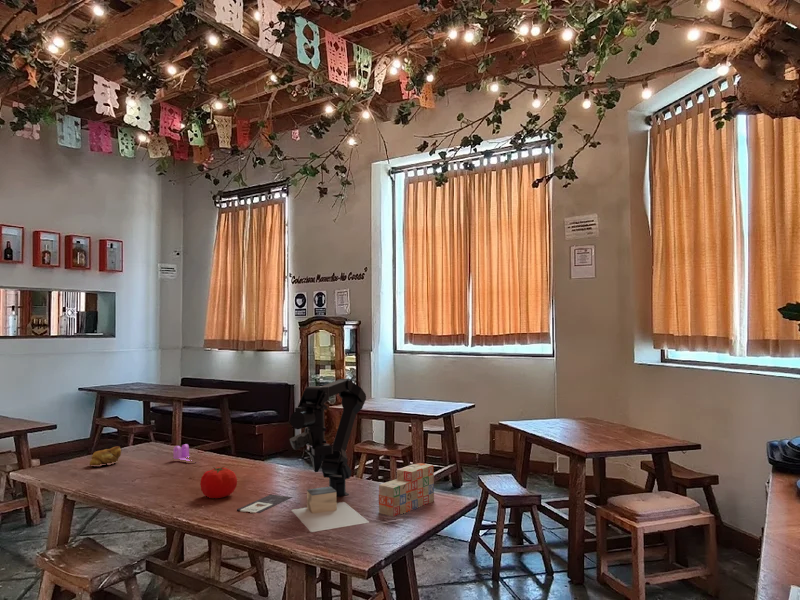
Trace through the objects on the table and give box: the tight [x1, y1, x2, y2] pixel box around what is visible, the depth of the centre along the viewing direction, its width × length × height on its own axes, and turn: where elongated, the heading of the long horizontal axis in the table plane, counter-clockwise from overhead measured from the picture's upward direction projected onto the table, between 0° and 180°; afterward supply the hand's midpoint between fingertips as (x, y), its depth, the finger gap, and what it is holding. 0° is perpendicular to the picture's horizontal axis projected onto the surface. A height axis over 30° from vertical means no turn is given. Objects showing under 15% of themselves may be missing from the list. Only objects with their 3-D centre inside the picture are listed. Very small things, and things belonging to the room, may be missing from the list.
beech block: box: [306, 486, 338, 514], centre depth 185 cm, size 6×8×6 cm
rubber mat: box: [291, 501, 370, 533], centre depth 179 cm, size 23×18×1 cm
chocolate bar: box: [236, 493, 293, 514], centre depth 193 cm, size 9×1×18 cm
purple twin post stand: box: [172, 443, 192, 461], centre depth 260 cm, size 13×6×7 cm, turn 56°
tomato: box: [199, 466, 238, 499], centre depth 203 cm, size 11×13×10 cm
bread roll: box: [89, 445, 122, 466], centre depth 255 cm, size 13×10×8 cm
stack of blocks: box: [378, 462, 435, 517], centre depth 187 cm, size 21×6×12 cm, turn 141°
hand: (316, 471), depth 191 cm, fingers closed
